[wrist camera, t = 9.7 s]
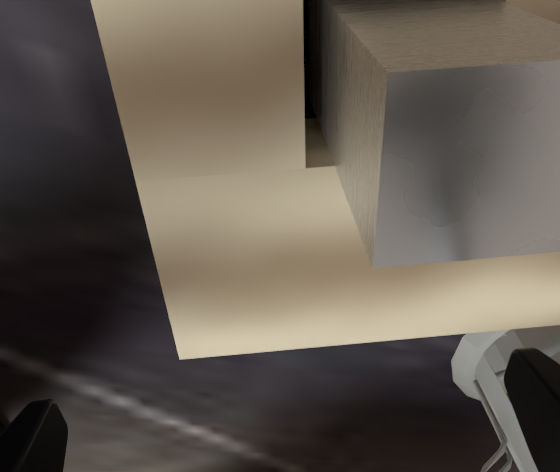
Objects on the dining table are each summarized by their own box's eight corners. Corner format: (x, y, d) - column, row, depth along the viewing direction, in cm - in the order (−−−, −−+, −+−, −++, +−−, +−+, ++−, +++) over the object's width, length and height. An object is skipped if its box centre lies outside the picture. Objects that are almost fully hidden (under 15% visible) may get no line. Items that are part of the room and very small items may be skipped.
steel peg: (415, 91, 18) (561, 251, 10) (310, 99, 18) (372, 268, 10) (429, -29, 16) (633, 54, 8) (308, -21, 16) (388, 72, 8)
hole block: (515, 265, 24) (560, 324, 20) (187, 293, 23) (179, 359, 20) (747, -494, 11) (963, -656, 8) (26, -476, 10) (-69, -644, 7)
